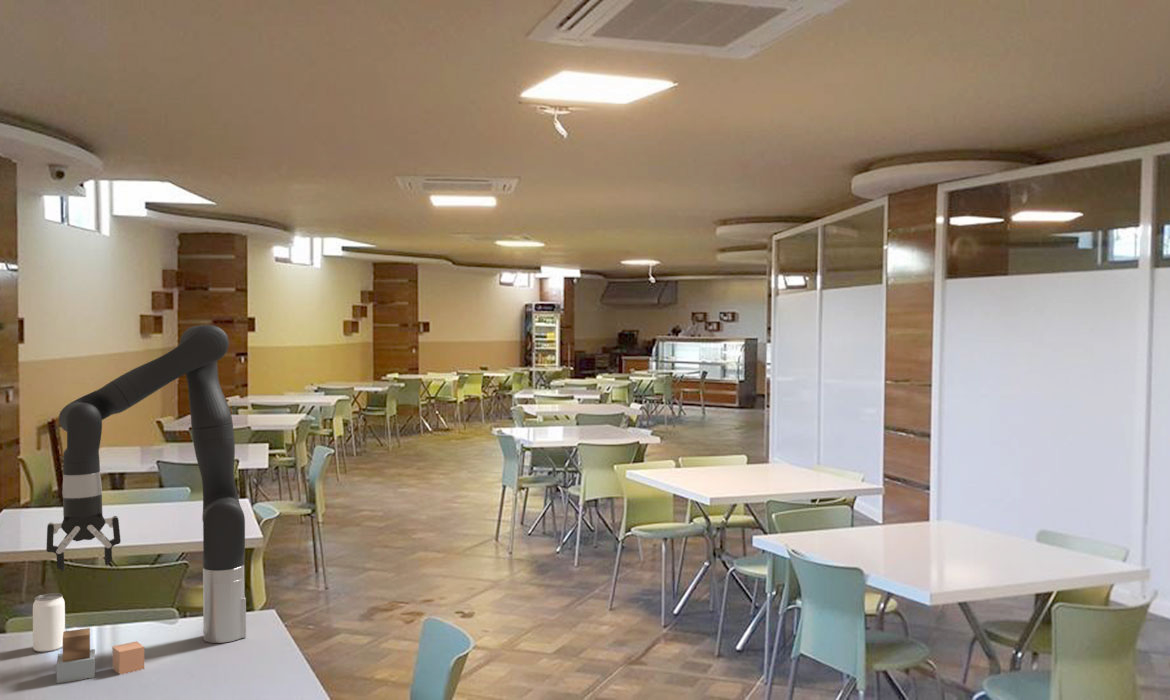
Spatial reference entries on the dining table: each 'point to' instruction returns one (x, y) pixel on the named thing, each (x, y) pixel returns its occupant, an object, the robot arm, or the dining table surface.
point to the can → (48, 622)
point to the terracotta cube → (128, 657)
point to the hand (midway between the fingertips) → (84, 567)
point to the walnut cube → (76, 644)
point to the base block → (75, 668)
